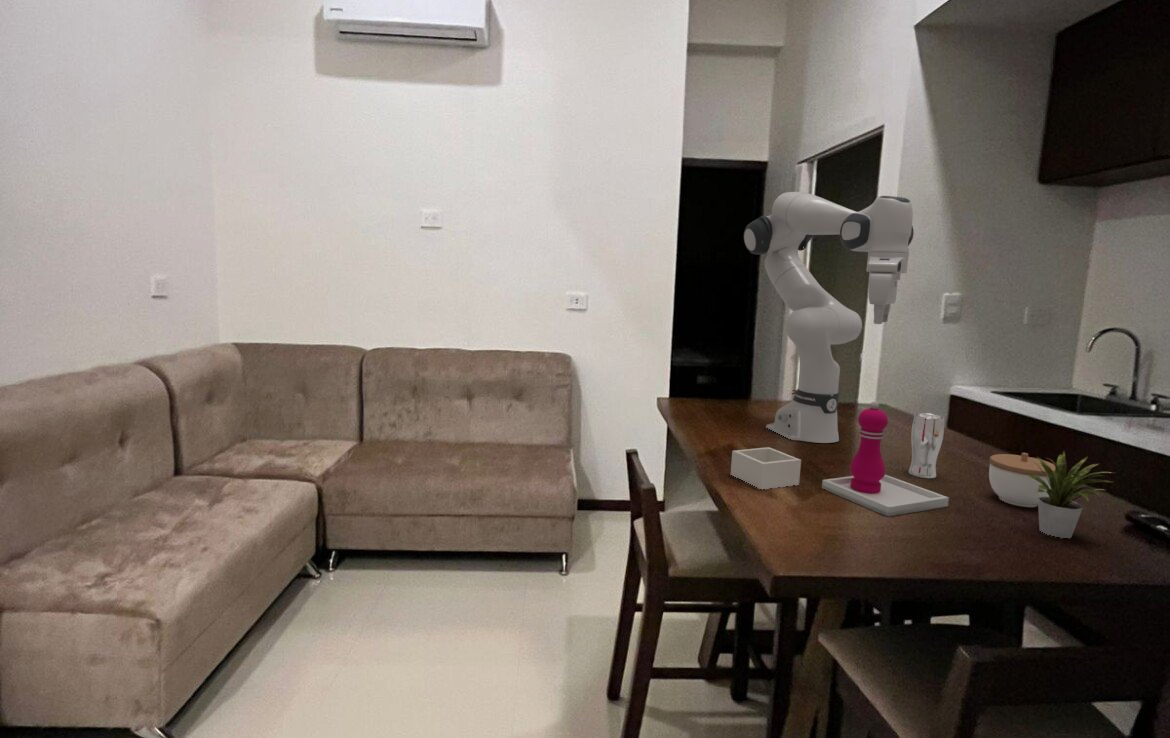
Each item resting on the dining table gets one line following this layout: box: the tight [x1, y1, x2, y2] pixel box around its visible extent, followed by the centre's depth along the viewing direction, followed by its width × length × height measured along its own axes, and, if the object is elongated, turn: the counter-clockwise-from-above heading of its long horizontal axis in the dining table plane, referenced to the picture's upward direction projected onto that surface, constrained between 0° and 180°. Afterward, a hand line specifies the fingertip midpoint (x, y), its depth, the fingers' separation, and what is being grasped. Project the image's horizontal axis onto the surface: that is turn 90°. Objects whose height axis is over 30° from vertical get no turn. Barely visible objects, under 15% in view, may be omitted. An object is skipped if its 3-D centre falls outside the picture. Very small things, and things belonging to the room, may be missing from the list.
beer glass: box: [908, 412, 945, 479], centre depth 160 cm, size 7×7×15 cm
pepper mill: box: [849, 401, 889, 493], centre depth 144 cm, size 7×7×20 cm
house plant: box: [1027, 450, 1115, 539], centre depth 124 cm, size 14×14×16 cm
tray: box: [821, 474, 950, 518], centre depth 143 cm, size 18×18×2 cm
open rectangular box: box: [730, 446, 802, 491], centre depth 151 cm, size 11×11×6 cm
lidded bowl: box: [988, 452, 1055, 508], centre depth 143 cm, size 13×13×11 cm
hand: (880, 323), depth 157 cm, fingers open, 8 cm apart
